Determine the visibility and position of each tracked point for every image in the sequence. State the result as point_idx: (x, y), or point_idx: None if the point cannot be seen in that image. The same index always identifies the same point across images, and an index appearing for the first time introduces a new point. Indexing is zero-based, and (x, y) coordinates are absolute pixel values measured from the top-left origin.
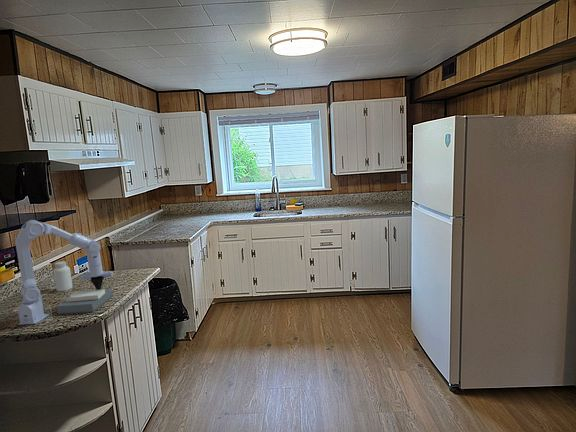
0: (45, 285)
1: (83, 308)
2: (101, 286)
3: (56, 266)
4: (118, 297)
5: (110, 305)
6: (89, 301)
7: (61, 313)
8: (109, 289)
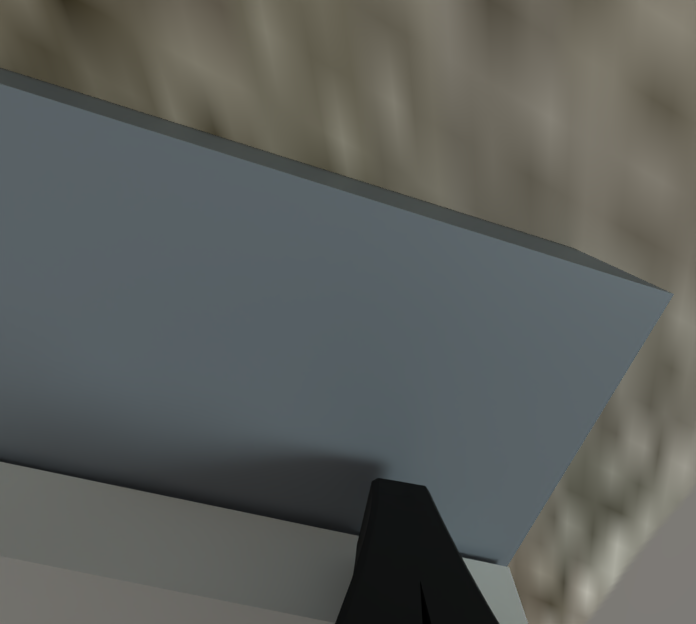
0: None
1: None
2: (467, 570)
3: None
4: (651, 367)
5: (524, 598)
6: None
7: None
8: (602, 355)
